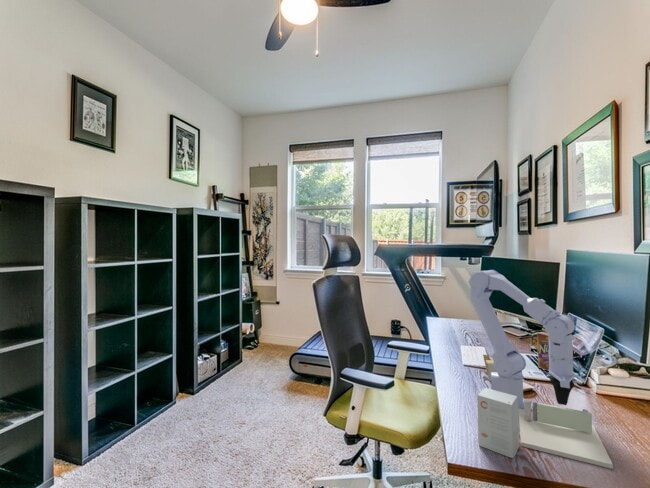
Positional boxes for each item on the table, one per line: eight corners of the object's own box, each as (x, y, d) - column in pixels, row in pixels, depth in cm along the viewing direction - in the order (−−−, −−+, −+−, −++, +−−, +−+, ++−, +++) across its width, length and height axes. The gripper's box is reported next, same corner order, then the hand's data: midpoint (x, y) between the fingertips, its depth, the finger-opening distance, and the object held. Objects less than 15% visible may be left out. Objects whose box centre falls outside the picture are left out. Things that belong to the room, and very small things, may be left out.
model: (488, 382, 123) (488, 362, 123) (481, 371, 133) (480, 353, 133) (498, 383, 122) (497, 362, 122) (489, 372, 133) (489, 353, 133)
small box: (519, 447, 82) (518, 396, 82) (513, 459, 77) (512, 404, 77) (485, 435, 87) (484, 386, 87) (477, 445, 83) (477, 394, 83)
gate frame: (521, 445, 82) (520, 420, 82) (518, 411, 100) (517, 390, 100) (613, 469, 73) (612, 440, 74) (592, 426, 91) (591, 403, 91)
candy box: (537, 368, 135) (536, 332, 136) (544, 367, 137) (544, 331, 137) (558, 376, 127) (557, 337, 127) (566, 375, 128) (565, 336, 128)
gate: (533, 420, 91) (533, 403, 92) (533, 419, 92) (532, 401, 92) (592, 433, 85) (591, 414, 85) (591, 431, 86) (590, 412, 86)
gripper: (583, 367, 86) (584, 418, 86) (573, 352, 99) (574, 396, 99) (551, 362, 90) (552, 411, 90) (545, 348, 102) (546, 391, 102)
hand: (561, 403), depth 94 cm, fingers closed
